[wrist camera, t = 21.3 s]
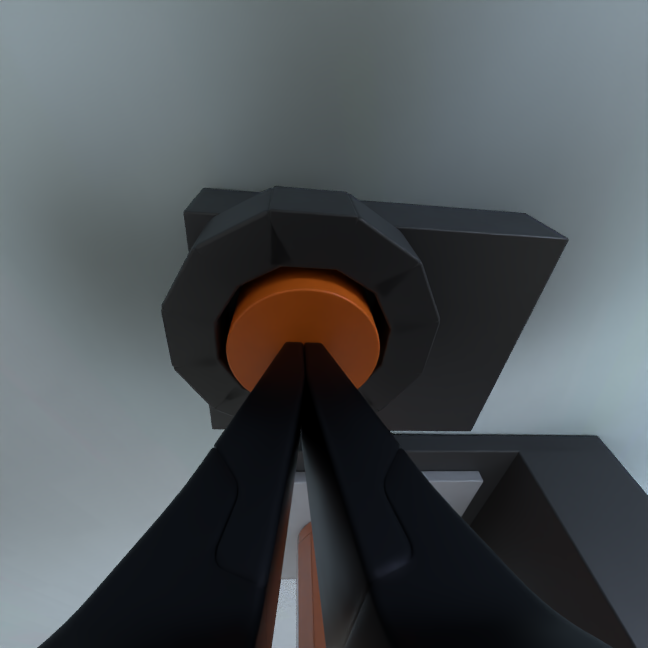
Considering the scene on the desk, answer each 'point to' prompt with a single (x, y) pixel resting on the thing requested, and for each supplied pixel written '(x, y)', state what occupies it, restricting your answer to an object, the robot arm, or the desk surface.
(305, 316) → the button
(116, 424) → the desk surface
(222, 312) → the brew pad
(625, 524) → the coffee maker
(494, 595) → the robot arm
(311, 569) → the cup
